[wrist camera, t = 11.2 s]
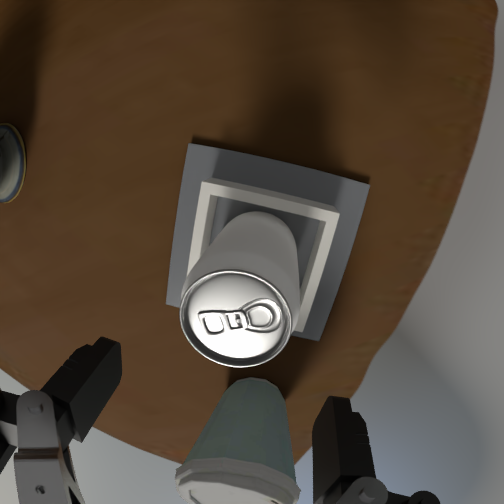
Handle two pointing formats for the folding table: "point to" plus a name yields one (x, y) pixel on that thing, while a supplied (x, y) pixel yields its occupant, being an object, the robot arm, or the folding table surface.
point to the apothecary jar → (11, 162)
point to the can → (243, 292)
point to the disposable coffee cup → (242, 451)
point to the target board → (278, 204)
